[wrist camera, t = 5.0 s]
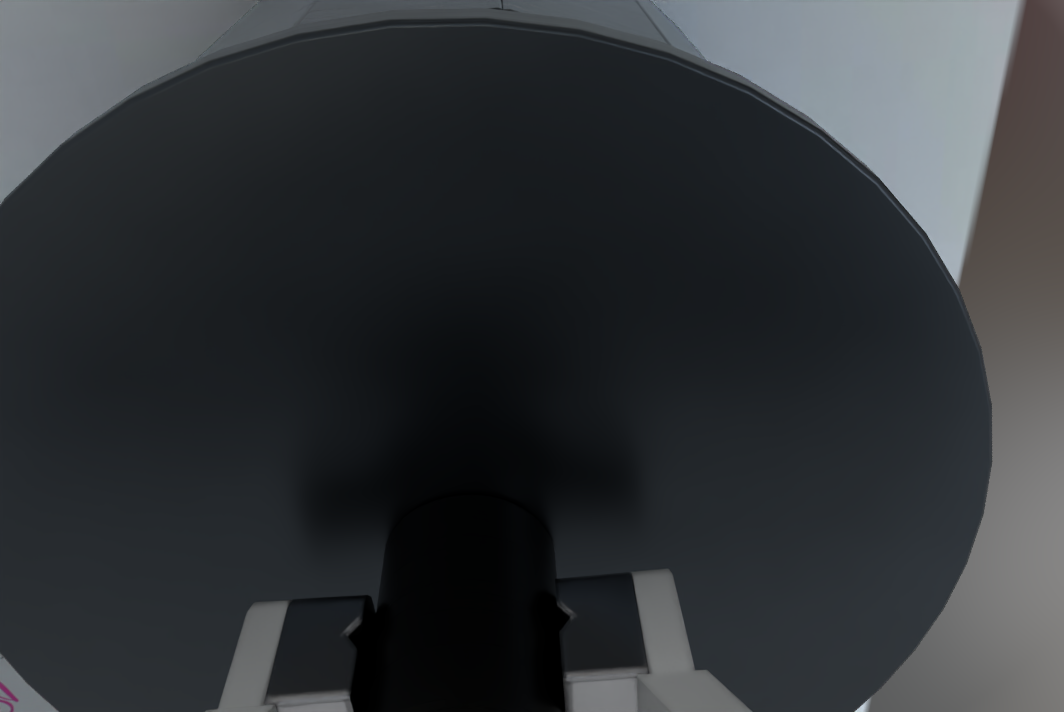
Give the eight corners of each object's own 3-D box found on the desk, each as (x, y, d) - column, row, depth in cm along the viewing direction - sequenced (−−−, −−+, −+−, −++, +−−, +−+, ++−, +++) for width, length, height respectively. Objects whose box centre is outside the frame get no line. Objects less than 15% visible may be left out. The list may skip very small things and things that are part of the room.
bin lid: (1062, -60, 10) (1514, 59, 6) (885, 755, 18) (1017, 1076, 13) (-257, 53, 10) (-838, 258, 6) (140, 815, 18) (24, 1153, 13)
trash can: (721, -108, 22) (918, -29, 12) (705, 371, 29) (820, 668, 19) (151, -59, 22) (-121, 61, 12) (277, 409, 29) (171, 725, 19)
